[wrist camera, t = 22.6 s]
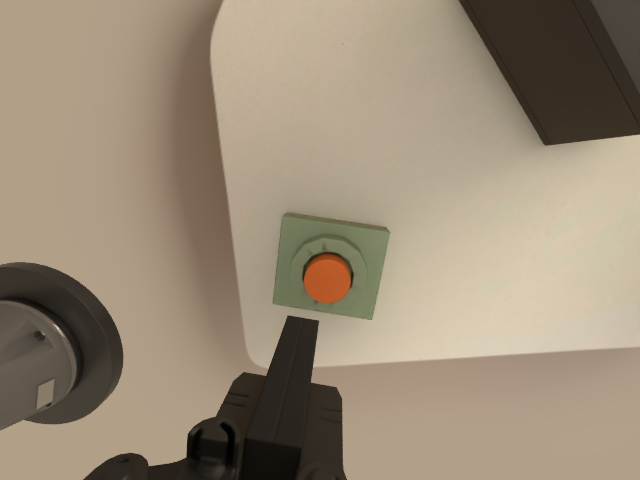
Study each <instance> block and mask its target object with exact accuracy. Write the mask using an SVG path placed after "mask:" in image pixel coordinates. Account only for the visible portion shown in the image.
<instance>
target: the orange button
mask: <svg viewBox="0 0 640 480" xmlns="http://www.w3.org/2000/svg"><path fill="white" fill-rule="evenodd" d="M350 284H351V278H350V270H349V267H348V265H347V264H346V262H345V261H344V260H343V259H342V258H340V257H338V256H336V255H333V254H322V255H319V256H317V257H315V258H314V259H313V260H312V261H311V262H310V263H309V265H308V267H307V270H306V273H305V276H304V285H305V289H306V291H307V292H308V294H309V295H310V296H311V297H312V298H313V299H315V300H317V301H319V302H322V303H333V302H336V301H339V300H341V299H342V298H343V297H344V296H345V295H346V294H347V293H348V291H349V288H350Z"/></svg>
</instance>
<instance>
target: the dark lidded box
mask: <svg viewBox="0 0 640 480" xmlns="http://www.w3.org/2000/svg"><path fill="white" fill-rule="evenodd" d="M459 1H460V2H461V4H462V6H463V7H464V9H465V11H466V12H467V14H468V16H469V17H470V19H471V21H472V23H473V24H474V26H475V28H476V29H477V31H478V33H479V34H480V36H481V38H482V39H483V41H484V43H485V45H486V46H487V48H488V50H489V51H490V53H491V55H492V56H493V58H494V60H495V61H496V63H497V65H498V67H499V68H500V70H501V72H502V73H503V75H504V77H505V78H506V80H507V82H508V83H509V85H510V87H511V89H512V90H513V92H514V94H515V95H516V97H517V99H518V100H519V102H520V104H521V105H522V107H523V109H524V111H525V112H526V114H527V116H528V117H529V119H530V121H531V122H532V124H533V126H534V127H535V129H536V131H537V133H538V134H539V136H540V138H541V139H542V141H543V143H544V144H545V145H555V144H563V143H572V142H580V141H589V140H597V139H605V138H614V137H622V136H631V135H639V134H640V0H459Z"/></svg>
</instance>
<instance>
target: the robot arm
mask: <svg viewBox="0 0 640 480" xmlns="http://www.w3.org/2000/svg"><path fill="white" fill-rule="evenodd" d="M318 325H319V321H318V320H312V319H306V318H300V317H294V316H287V319H286V322H285V325H284V328H283V330H282V333H281V336H280V339H279V342H278V345H277V347H276V350H275V353H274V356H273V359H272V361H271V364H270V367H269V370H268V373H267V376H263V375H257V374H251V373H246V372H244V373H242V374H241V375H240V376H239V377H238V378H236V380H234V382H233V383H232V385H231V387H230V389H229V391H228V394H227V395H226V397H225V399H224V401H223V404H222V405H221V407H220V410H219V411H218V413H217V415H216V417H213V418H209V419H206V420H203V421H201V422H200V423H198V424H197V425H195V426H194V427H193V428H192V430H191V431H190V432H189V433H188V439H187V458H185V459H182V460H180V461H178V462H173V463H169V464H163V465H156V466H148V462H147V460H146V459H145V458H144V457H143V456H142V455H139V454H134V453H128V454H120V455H118V456H115V457H113V458H110V459H108V460H107V461H105V462H104V463H102V464H101V465H100V466H98V467H97V468H96V469H94V470H93V471H92V472H91V473H90V474H89V475H88V476H87V477H86V478H85V479H84V480H347V479H346V476H345V473H344V470H343V448H342V447H343V444H342V441H343V440H342V398H341V396H340V394H339V392H338V390H337V388H336V387H331V386H325V385H320V384H314V383H311V376H312V369H313V362H314V354H315V347H316V340H317V332H318ZM82 373H83V355H82V351H81V347H80V345H79V342H78V340H77V338H76V336H75V335H74V333H73V332H72V330H71V329H70V327H69V326H68V325H67V324H66V323H65V322H64V321H63V320H62V319H61V318H60V317H59V316H58V315H57V314H56V313H54V312H53V311H52V310H50V309H49V308H47V307H45V306H43V305H41V304H39V303H37V302H35V301H32V300H29V299H25V298H19V297H4V298H0V430H2V429H4V428H7V427H9V426H11V425H13V424H15V423H17V422H20V421H22V420H24V419H26V418H28V417H30V416H32V415H34V414H35V413H38V412H41V411H43V410H45V409H47V408H50V407H51V406H53V405H55V404H57V403H58V402H59V401H61V400H62V399H63V398H64V397H66V396H67V395H68V394H69V393H70V392H72V391H73V390H74V389H75V387H76V386H77V385H78V383H79V381H80V379H81V376H82Z"/></svg>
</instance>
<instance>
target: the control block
mask: <svg viewBox="0 0 640 480" xmlns="http://www.w3.org/2000/svg"><path fill="white" fill-rule="evenodd" d="M389 234H390V232H389V230H388V229H387V228H386V227H380V226H373V225H366V224H360V223H353V222H347V221H340V220H333V219H327V218H320V217H313V216H307V215H300V214H294V213H286V214H284V215H283V216H282V225H281V234H280V243H279V252H278V261H277V270H276V279H275V288H274V297H273V304H277V305H283V306H289V307H295V308H301V309H307V310H313V311H319V312H326V313H332V314H338V315H344V316H350V317H356V318H362V319H368V320H372V319H373V314H374V309H375V304H376V299H377V294H378V289H379V284H380V279H381V274H382V269H383V264H384V259H385V254H386V249H387V244H388V239H389ZM322 254H333V255H336V256H338V257H340V258H342V259H343V260H344V261H345V262H346V264H347V265H348V267H349V270H350V278H351V284H350V288H349V291H348V293H347V294H346V295H345V296H344V297H343V298H342V299H341V300H339V301H336V302H333V303H322V302H319V301H317V300H315V299H313V298H312V297H311V296H310V295H309V294H308V292H307V291H306V289H305V285H304V276H305V273H306V270H307V267H308V265H309V263H310V262H311V261H312V260H313V259H314V258H315V257H317V256H319V255H322Z"/></svg>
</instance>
